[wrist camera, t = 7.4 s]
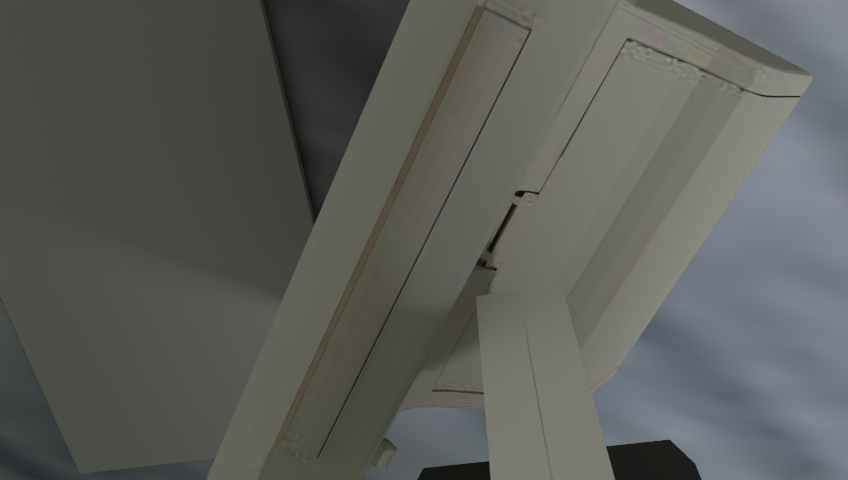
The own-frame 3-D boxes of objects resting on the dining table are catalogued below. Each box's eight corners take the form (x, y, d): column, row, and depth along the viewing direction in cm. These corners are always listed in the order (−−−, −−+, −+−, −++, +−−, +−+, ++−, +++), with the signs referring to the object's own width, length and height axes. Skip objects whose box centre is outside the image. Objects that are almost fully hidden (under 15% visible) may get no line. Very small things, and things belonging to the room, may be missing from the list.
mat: (227, -150, 20) (223, -150, 19) (366, 434, 27) (365, 442, 27) (-158, -82, 20) (-169, -81, 20) (84, 466, 28) (79, 474, 28)
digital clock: (667, -236, 18) (397, -539, 10) (1005, 14, 16) (1054, -89, 7) (322, 250, 26) (-1, 327, 18) (507, 473, 24) (236, 696, 15)
